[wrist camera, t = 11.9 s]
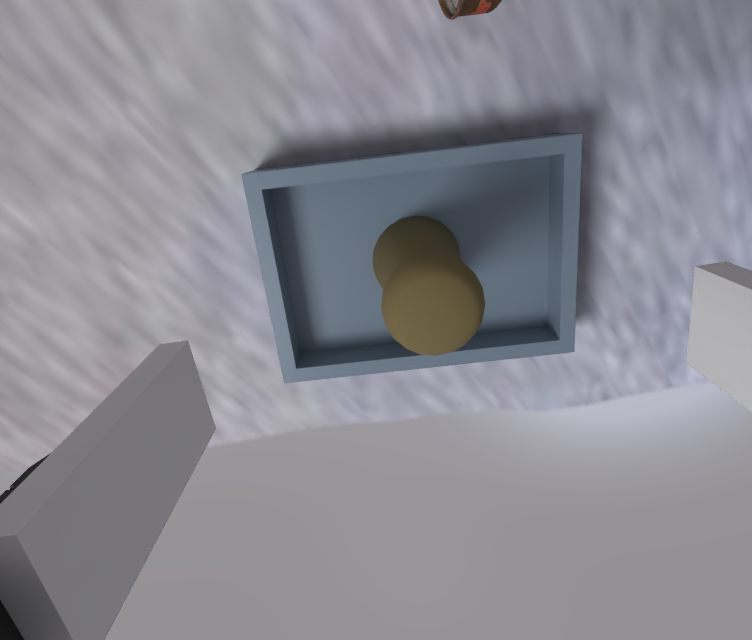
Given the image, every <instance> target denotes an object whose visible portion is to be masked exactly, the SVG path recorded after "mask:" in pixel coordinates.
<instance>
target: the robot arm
mask: <svg viewBox="0 0 752 640" xmlns="http://www.w3.org/2000/svg"><path fill="white" fill-rule="evenodd" d="M687 365H689V366H690V367H691V368H693V369H694V370H695V371H697V372H698V373H700V374H701V375H702V376H704V377H705V378H706V379H708V380H709V381H710V382H712V383H713V384H714V385H716V386H717V387H719V388H720V389H721V390H723V391H724V392H725V393H727V394H728V395H729V396H731V397H732V398H734V399H735V400H736V401H738V402H739V403H740V404H742V405H743V406H745V407H746V408H747V409H748V410H750V411H751V412H752V271H750V270H748V269H745V268H742V267H739V266H737V265H734V264H731V263H729V262H720V263H714V264H707V265H700V266H695V272H694V284H693V295H692V307H691V318H690V330H689V341H688V353H687ZM215 429H216V427H215V424H214V421H213V418H212V415H211V411H210V408H209V405H208V402H207V399H206V396H205V393H204V390H203V386H202V383H201V380H200V377H199V374H198V371H197V368H196V365H195V361H194V358H193V355H192V352H191V349H190V346H189V343H188V340H187V341H181V342H174V343H167V344H160V345H159V346H158V347H157V348H156V349H155V350H154V351H153V352H152V353H151V354H150V355H149V356H148V357H147V358H146V359H145V360H144V361H143V362H142V363H141V364H140V365H139V366H138V367H137V368H136V369H135V370H134V371H133V372H132V373H131V374H130V375H129V376H128V377H127V378H126V379H125V380H124V381H123V382H122V383H121V384H120V385H119V386H118V387H117V388H116V389H115V390H114V391H113V392H112V393H111V394H110V395H109V396H108V397H107V398H106V399H105V400H104V401H103V402H102V403H101V404H100V405H99V406H98V407H97V408H96V409H95V410H94V411H93V412H92V413H91V414H90V415H89V416H88V417H87V418H86V419H85V420H84V421H83V422H82V423H81V424H80V425H79V426H78V427H77V428H76V429H75V430H74V431H73V432H72V433H71V434H70V435H69V436H68V437H67V438H66V439H65V440H64V441H63V442H62V443H61V444H60V445H59V446H58V447H57V448H56V449H55V450H54V451H53V452H52V453H50V454H49V455H47V456H46V457H44V458H43V459H41V460H40V461H38V462H37V463H35V464H34V465H32V466H31V467H29V468H28V469H27V470H26V471H25V472H24V473H23V474H22V475H21V476H20V477H19V478H18V479H17V480H16V481H15V482H14V483H13V484H12V485H11V486H10V490H6V491H5V492H4V493H3V494H2V495H1V496H0V640H105V638H106V636H107V634H108V632H109V630H110V628H111V626H112V624H113V622H114V621H115V619H116V617H117V615H118V613H119V611H120V609H121V607H122V606H123V603H124V601H125V600H126V598H127V596H128V594H129V592H130V590H131V588H132V587H133V585H134V583H135V581H136V579H137V577H138V575H139V573H140V571H141V569H142V567H143V565H144V564H145V562H146V560H147V558H148V556H149V554H150V552H151V551H152V549H153V546H154V545H155V543H156V541H157V539H158V537H159V535H160V533H161V532H162V530H163V528H164V526H165V524H166V522H167V520H168V518H169V516H170V514H171V512H172V511H173V509H174V507H175V505H176V503H177V501H178V499H179V497H180V496H181V494H182V491H183V490H184V488H185V486H186V484H187V482H188V480H189V479H190V477H191V475H192V473H193V471H194V469H195V467H196V465H197V463H198V461H199V460H200V457H201V456H202V454H203V452H204V450H205V448H206V446H207V444H208V442H209V441H210V439H211V437H212V435H213V433H214V431H215Z"/></svg>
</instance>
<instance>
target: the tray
mask: <svg viewBox="0 0 752 640" xmlns="http://www.w3.org/2000/svg"><path fill="white" fill-rule="evenodd" d="M581 157H582V133H559V134H550V135H542V136H534V137H525V138H517V139H509V140H500V141H492V142H484V143H475V144H467V145H459V146H450V147H442V148H434V149H426V150H417V151H409V152H401V153H392V154H384V155H376V156H367V157H359V158H351V159H342V160H334V161H326V162H317V163H309V164H301V165H292V166H284V167H276V168H267V169H259V170H253V171H250V172H247V173H244V174H242V179H243V184H244V189H245V194H246V199H247V204H248V209H249V213H250V218H251V223H252V228H253V233H254V238H255V243H256V248H257V252H258V257H259V262H260V267H261V272H262V277H263V282H264V287H265V291H266V296H267V301H268V306H269V311H270V316H271V321H272V326H273V330H274V335H275V340H276V345H277V350H278V355H279V360H280V365H281V369H282V374H283V379H284V383H290V382H300V381H309V380H318V379H328V378H337V377H346V376H355V375H365V374H374V373H383V372H393V371H402V370H411V369H420V368H430V367H439V366H448V365H458V364H467V363H476V362H485V361H495V360H504V359H513V358H523V357H532V356H541V355H550V354H560V353H569V352H574V344H575V317H576V291H577V264H578V237H579V211H580V184H581ZM411 216H425V217H430V218H433V219H435V220H437V221H439V222H442V223H443V224H444V225H445V226H446V227H447V228H448V229H449V230H450V231H452V233H453V235H454V237H455V239H456V240H457V242H458V245H459V250H460V256H461V261H462V262H463V263H465V264H466V265H467V266H468V267H469V268H470V269H471V270H472V271H473V272H474V273H475V274H476V276H477V278H478V280H479V281H480V283H481V285H482V287H483V292H484V298H485V310H484V315H483V321H482V323H481V325H480V327H479V329H478V330H477V332H476V334H475V335H474V336H473V337H472V338H471V339H470V340H469V341H468V342H467V343H466V344H465V345H464V346H462V347H460V348H458V349H457V350H455V351H453V352H451V353H446V354H442V355H437V356H433V355H421V354H418V353H415V352H413V351H410V350H408V349H406V348H405V347H404V346H402V345H401V344H400V343H399V342H397V341H396V340H395V339H394V338H393V336H392V335H391V333H390V332H389V330H388V329H387V327H386V326H385V323H384V319H383V314H382V310H381V305H382V294H383V289H382V287H381V285H380V283H379V282H378V280H377V278H376V276H375V273H374V268H373V264H372V261H373V250H374V247H375V245H376V243H377V240H378V238H379V236H380V235H381V234H382V233H383V232H384V231H385V229H386V228H387V227H388V226H390V225H391V224H393V223H395V222H396V221H398V220H400V219H402V218H406V217H411Z"/></svg>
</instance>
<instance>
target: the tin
mask: <svg viewBox="0 0 752 640" xmlns="http://www.w3.org/2000/svg"><path fill="white" fill-rule="evenodd" d="M501 1H502V0H439V3H440V6H441V9H442V11H443V13H444V15H445V16H446V17H447V18H448V19H451V20H452V19H455V18H456V17H459V16H467V15H476V14H483V13H488V12H491V11H492V10H494V9H495V8H496V7H497V6H498V5H499V3H500V2H501Z"/></svg>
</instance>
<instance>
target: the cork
mask: <svg viewBox="0 0 752 640" xmlns="http://www.w3.org/2000/svg"><path fill="white" fill-rule="evenodd" d="M372 264H373V268H374V273H375V276H376V278H377V280H378V282H379V283H380V285H381V287H382V289H383V294H382V305H381V310H382V314H383V319H384V323H385V326H386V327H387V329H388V330H389V332H390V333H391V335H392V336H393V338H394V339H395V340H396V341H397V342H399V343H400V344H401V345H402V346H404V347H405V348H406V349H408V350H410V351H413V352H415V353H418V354H421V355H433V356H437V355H442V354H446V353H451V352H453V351H455V350H457V349H458V348H460V347H462V346H464V345H465V344H466V343H467V342H468V341H469V340H470V339H471V338H472V337H473V336H474V335H475V334H476V332H477V330H478V329H479V327H480V325H481V323H482V321H483V315H484V310H485V298H484V292H483V287H482V285H481V283H480V281H479V280H478V278H477V276H476V274H475V273H474V272H473V271H472V270H471V269H470V268H469V267H468V266H467V265H466V264H465V263H463V262H462V261H461V256H460V250H459V245H458V242H457V240H456V239H455V237H454V235H453V233H452V231H450V230H449V229H448V228H447V227H446V226H445V225H444V224H443V223H442V222H439V221H437V220H435V219H433V218H430V217H425V216H411V217H406V218H402V219H400V220H398V221H396V222H395V223H393V224H391V225H390V226H388V227H387V228H386V229H385V231H384V232H383V233H382V234H381V235H380V236H379V238H378V240H377V243H376V245H375V247H374V250H373V261H372Z"/></svg>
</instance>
